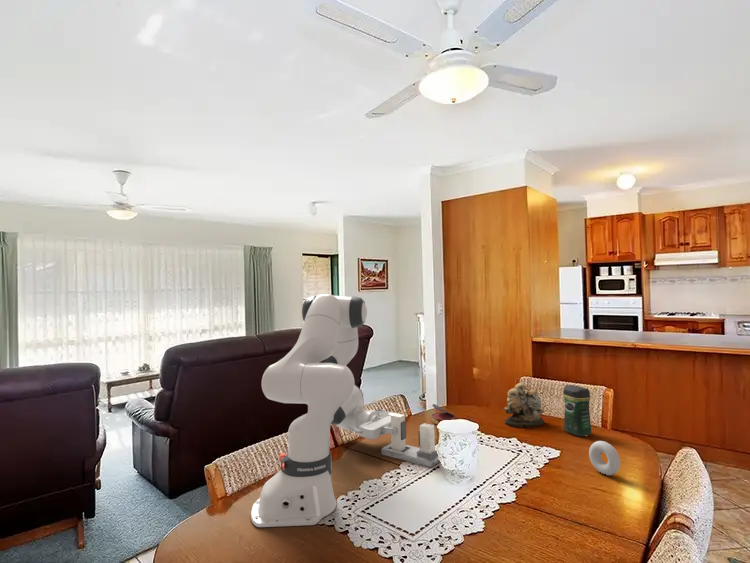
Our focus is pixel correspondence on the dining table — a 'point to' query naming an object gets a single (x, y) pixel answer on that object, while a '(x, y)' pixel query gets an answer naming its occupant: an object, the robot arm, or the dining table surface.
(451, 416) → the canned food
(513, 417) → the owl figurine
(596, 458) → the donut
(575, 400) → the coffee jar
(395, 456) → the steel rail
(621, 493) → the dining table surface
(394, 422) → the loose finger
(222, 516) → the dining table surface
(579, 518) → the dining table surface
